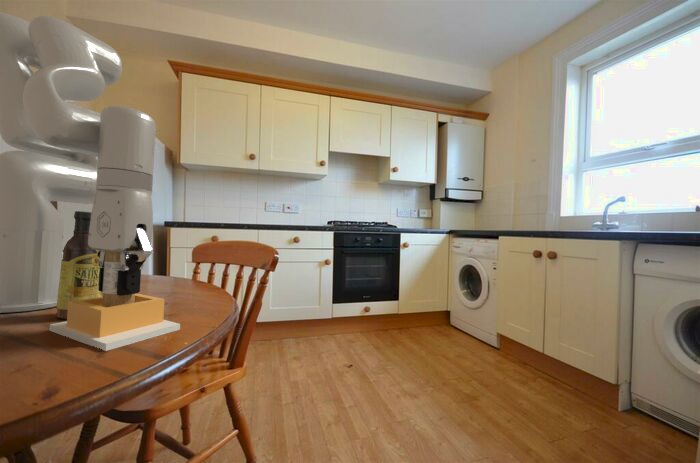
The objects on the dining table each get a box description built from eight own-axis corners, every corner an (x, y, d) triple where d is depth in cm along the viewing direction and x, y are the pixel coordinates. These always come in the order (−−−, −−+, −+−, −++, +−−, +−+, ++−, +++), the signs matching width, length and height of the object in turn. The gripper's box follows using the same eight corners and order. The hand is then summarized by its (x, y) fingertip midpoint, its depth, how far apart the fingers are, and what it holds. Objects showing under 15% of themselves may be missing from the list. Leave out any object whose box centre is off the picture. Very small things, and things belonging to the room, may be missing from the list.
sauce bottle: (73, 322, 52) (80, 210, 52) (46, 318, 53) (53, 209, 53) (110, 313, 58) (116, 213, 59) (85, 310, 59) (91, 212, 60)
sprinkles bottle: (136, 306, 52) (140, 231, 52) (133, 313, 48) (138, 232, 49) (102, 309, 50) (107, 230, 50) (97, 316, 46) (102, 230, 46)
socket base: (49, 330, 47) (51, 299, 47) (124, 315, 57) (126, 289, 57) (105, 351, 41) (107, 315, 41) (179, 329, 51) (181, 300, 51)
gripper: (71, 181, 49) (64, 289, 49) (131, 177, 43) (124, 303, 42) (121, 188, 56) (115, 283, 56) (180, 186, 49) (173, 295, 49)
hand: (119, 291), depth 49 cm, fingers closed on sprinkles bottle, 4 cm apart
